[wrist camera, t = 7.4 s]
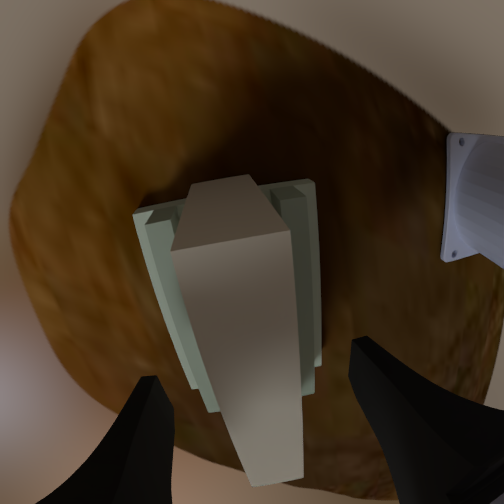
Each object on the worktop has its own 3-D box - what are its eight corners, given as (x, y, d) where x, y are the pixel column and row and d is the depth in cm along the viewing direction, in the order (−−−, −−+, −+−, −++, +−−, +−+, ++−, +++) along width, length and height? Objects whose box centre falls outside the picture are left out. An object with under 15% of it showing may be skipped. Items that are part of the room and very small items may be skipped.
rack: (308, 178, 14) (331, 192, 11) (316, 354, 18) (331, 388, 16) (137, 208, 13) (119, 230, 11) (192, 377, 18) (191, 414, 15)
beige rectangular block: (276, 377, 17) (303, 477, 11) (237, 385, 17) (252, 487, 11) (248, 174, 12) (290, 230, 6) (191, 184, 12) (169, 252, 6)
